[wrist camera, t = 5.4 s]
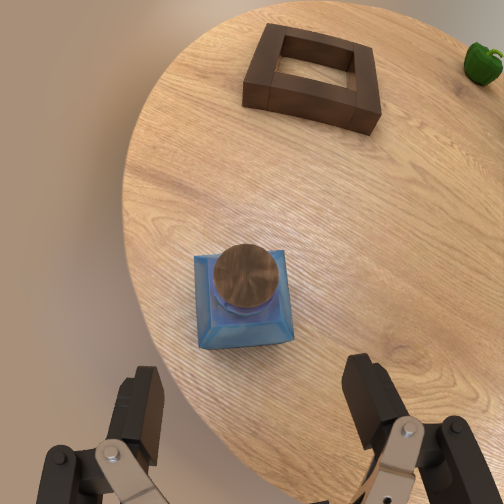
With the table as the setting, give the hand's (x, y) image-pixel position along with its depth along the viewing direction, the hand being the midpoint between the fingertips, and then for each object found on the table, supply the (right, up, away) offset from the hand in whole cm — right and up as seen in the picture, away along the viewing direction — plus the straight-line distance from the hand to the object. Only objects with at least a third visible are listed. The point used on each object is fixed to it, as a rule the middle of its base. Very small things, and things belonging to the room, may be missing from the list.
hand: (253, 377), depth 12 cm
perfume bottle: (-1, 0, +14) cm, 14 cm away
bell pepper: (+47, +42, +32) cm, 70 cm away
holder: (+8, +28, +24) cm, 38 cm away
